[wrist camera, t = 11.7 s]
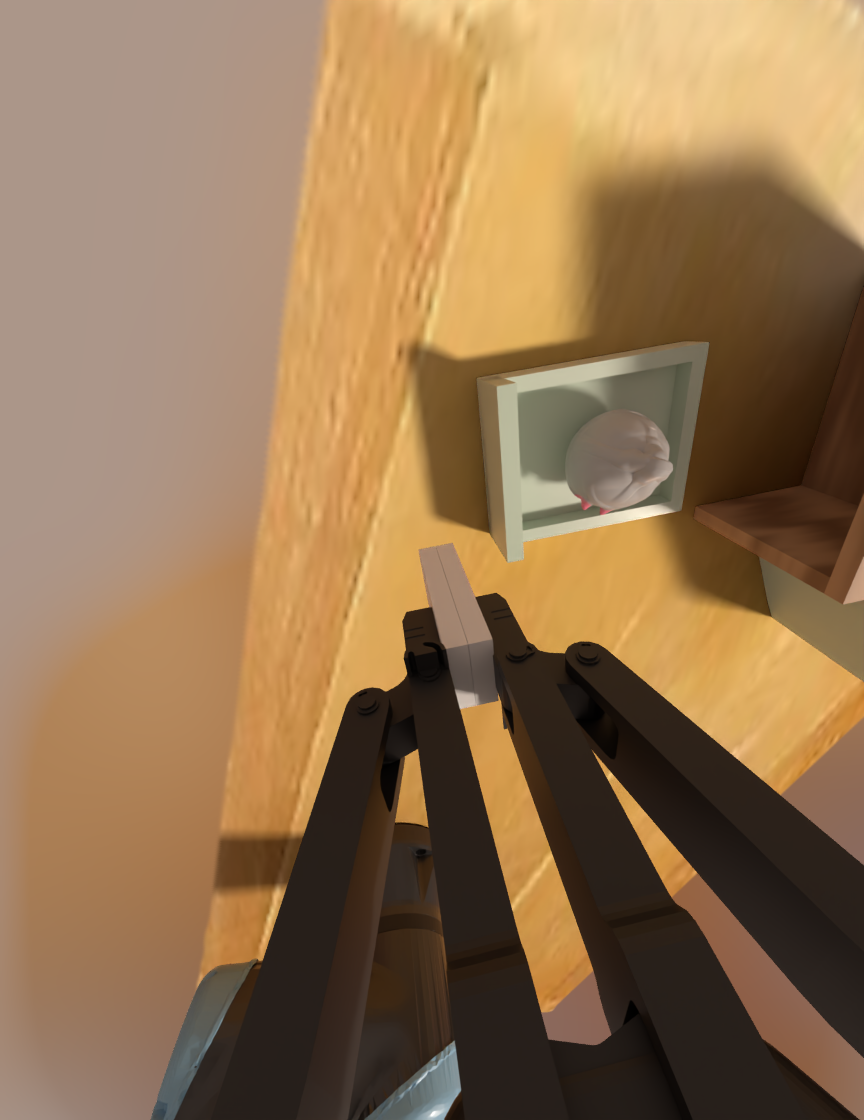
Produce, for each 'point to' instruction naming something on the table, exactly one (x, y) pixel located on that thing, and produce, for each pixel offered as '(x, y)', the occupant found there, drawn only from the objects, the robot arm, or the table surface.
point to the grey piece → (817, 618)
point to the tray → (556, 416)
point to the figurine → (616, 460)
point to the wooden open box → (814, 495)
